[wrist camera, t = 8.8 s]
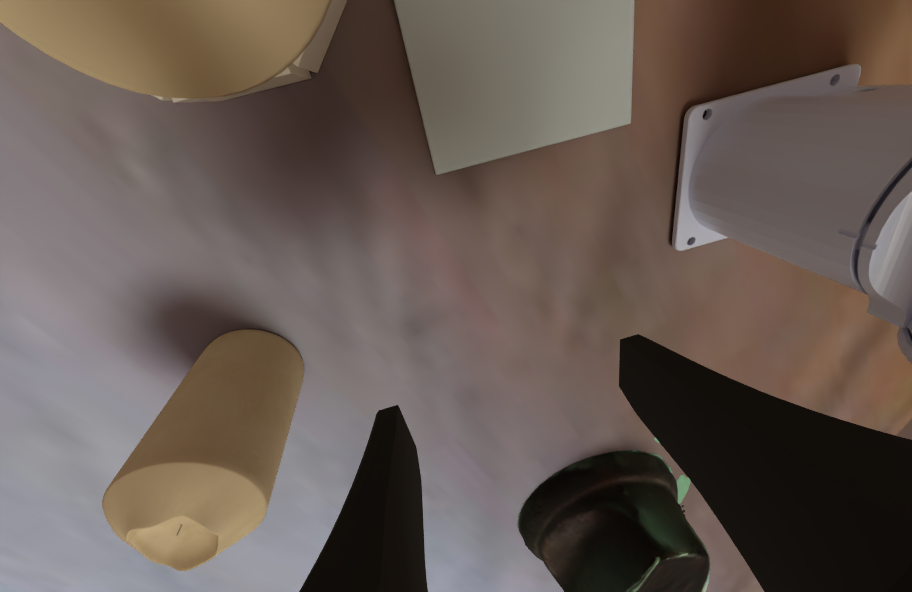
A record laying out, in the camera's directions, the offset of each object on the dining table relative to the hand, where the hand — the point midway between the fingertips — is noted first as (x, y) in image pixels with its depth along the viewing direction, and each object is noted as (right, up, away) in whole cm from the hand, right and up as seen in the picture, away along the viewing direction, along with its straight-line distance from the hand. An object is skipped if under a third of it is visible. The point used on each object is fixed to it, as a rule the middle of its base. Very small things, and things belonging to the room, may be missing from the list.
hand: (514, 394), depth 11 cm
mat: (+1, +15, +4) cm, 15 cm away
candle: (-14, -1, +10) cm, 17 cm away
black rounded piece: (+12, -17, +25) cm, 32 cm away
